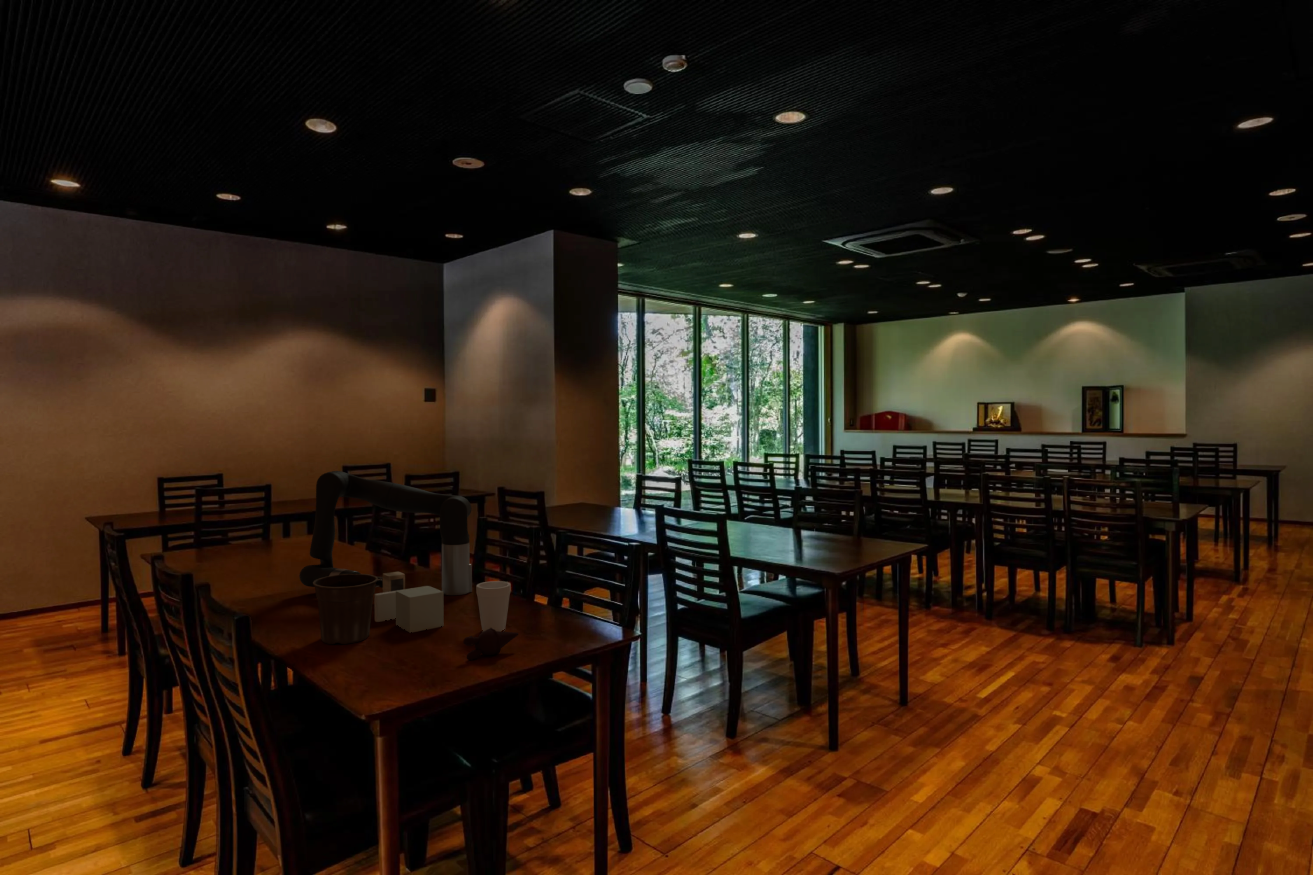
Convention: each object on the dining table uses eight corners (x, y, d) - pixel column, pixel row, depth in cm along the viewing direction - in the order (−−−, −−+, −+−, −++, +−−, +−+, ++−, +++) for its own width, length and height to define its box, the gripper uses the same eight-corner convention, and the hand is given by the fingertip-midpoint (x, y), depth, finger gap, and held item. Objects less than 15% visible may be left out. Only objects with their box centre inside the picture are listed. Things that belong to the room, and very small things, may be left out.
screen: (426, 611, 224) (426, 585, 224) (429, 612, 223) (428, 586, 222) (374, 620, 213) (374, 593, 213) (377, 622, 212) (377, 595, 212)
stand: (428, 618, 216) (428, 585, 215) (443, 626, 208) (443, 591, 208) (395, 625, 209) (395, 590, 209) (410, 632, 202) (409, 597, 201)
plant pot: (390, 635, 199) (390, 577, 199) (338, 651, 185) (338, 589, 185) (352, 626, 207) (352, 571, 207) (300, 641, 194) (300, 581, 193)
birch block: (398, 609, 226) (398, 571, 226) (405, 612, 222) (405, 574, 222) (382, 612, 223) (382, 573, 223) (389, 615, 219) (389, 576, 219)
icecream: (509, 620, 192) (456, 636, 182) (522, 619, 186) (468, 635, 177) (514, 646, 191) (461, 663, 181) (527, 646, 185) (473, 664, 176)
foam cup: (505, 635, 200) (505, 588, 199) (472, 634, 200) (472, 588, 200) (513, 625, 209) (513, 581, 209) (481, 625, 209) (481, 580, 209)
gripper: (325, 573, 230) (355, 579, 221) (364, 566, 242) (395, 571, 233) (325, 596, 231) (355, 604, 222) (364, 588, 242) (395, 594, 234)
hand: (376, 587), depth 228 cm, fingers open, 8 cm apart
